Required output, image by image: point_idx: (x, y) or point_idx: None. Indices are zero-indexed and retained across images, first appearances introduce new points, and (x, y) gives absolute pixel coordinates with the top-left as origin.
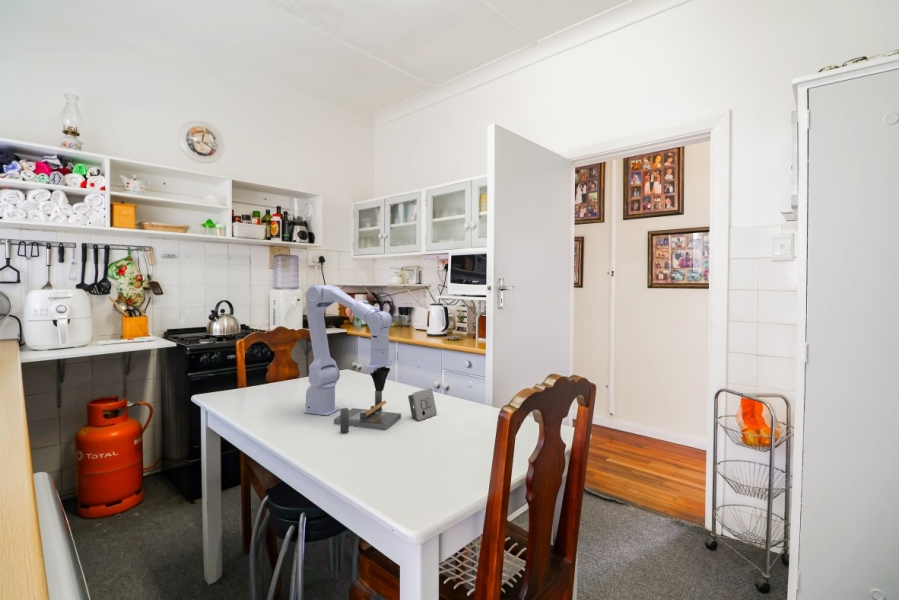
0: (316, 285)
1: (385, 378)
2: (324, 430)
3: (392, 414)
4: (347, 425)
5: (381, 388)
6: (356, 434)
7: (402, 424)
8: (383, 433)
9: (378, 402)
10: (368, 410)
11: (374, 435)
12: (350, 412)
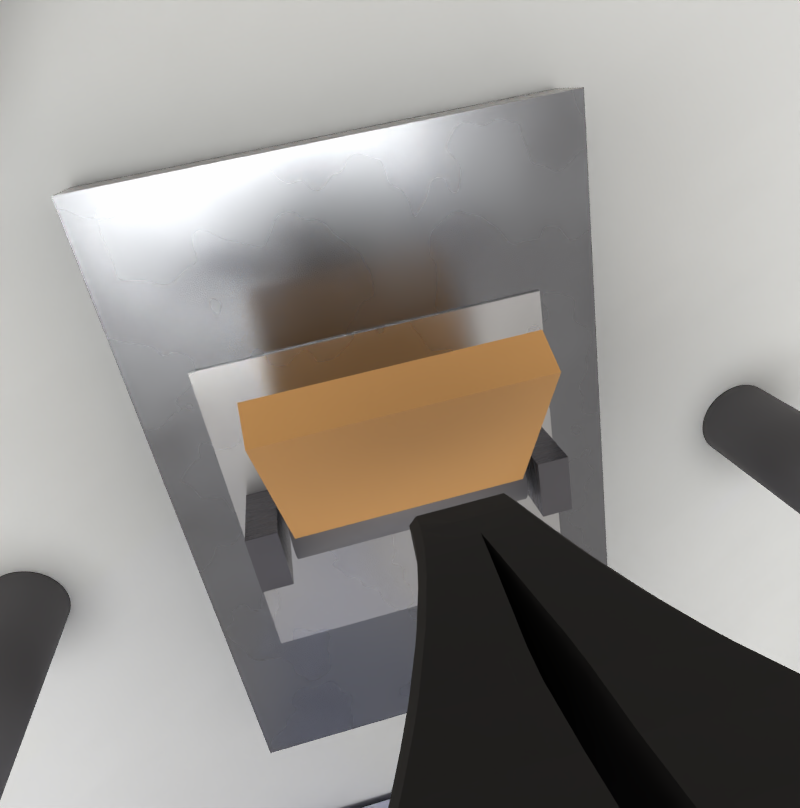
0: None
1: (501, 746)
2: (744, 564)
3: (169, 282)
4: (793, 414)
5: (547, 527)
6: (758, 288)
7: (264, 8)
8: (653, 42)
9: (22, 661)
10: (401, 520)
11: (736, 101)
12: (393, 680)
